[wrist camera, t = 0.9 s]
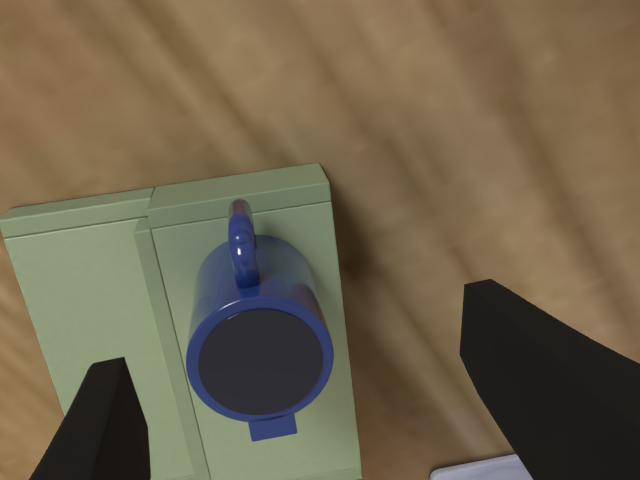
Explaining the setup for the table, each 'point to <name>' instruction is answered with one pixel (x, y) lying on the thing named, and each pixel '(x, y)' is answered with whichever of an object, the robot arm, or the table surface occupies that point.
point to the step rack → (181, 313)
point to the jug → (257, 331)
